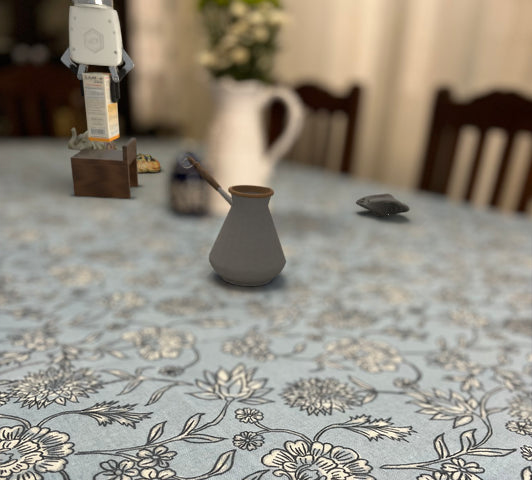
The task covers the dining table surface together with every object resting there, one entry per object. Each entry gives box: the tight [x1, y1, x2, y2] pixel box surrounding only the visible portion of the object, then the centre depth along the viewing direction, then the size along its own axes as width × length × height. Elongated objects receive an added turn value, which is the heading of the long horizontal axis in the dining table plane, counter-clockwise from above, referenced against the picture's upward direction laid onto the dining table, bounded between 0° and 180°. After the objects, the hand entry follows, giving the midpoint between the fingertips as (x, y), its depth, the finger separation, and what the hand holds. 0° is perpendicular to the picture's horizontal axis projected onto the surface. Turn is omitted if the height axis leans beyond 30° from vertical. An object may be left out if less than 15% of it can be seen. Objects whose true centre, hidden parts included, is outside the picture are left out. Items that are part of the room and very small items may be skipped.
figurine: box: [67, 127, 119, 152], centre depth 129 cm, size 10×14×15 cm, turn 138°
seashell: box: [355, 193, 411, 218], centre depth 116 cm, size 12×6×10 cm
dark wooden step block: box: [70, 137, 139, 200], centre depth 118 cm, size 12×14×11 cm
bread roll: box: [137, 152, 162, 174], centre depth 145 cm, size 11×11×5 cm
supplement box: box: [82, 71, 120, 142], centre depth 112 cm, size 8×5×13 cm, turn 178°
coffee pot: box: [181, 155, 287, 287], centre depth 77 cm, size 21×12×15 cm, turn 42°
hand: (101, 100), depth 112 cm, fingers closed on supplement box, 5 cm apart
